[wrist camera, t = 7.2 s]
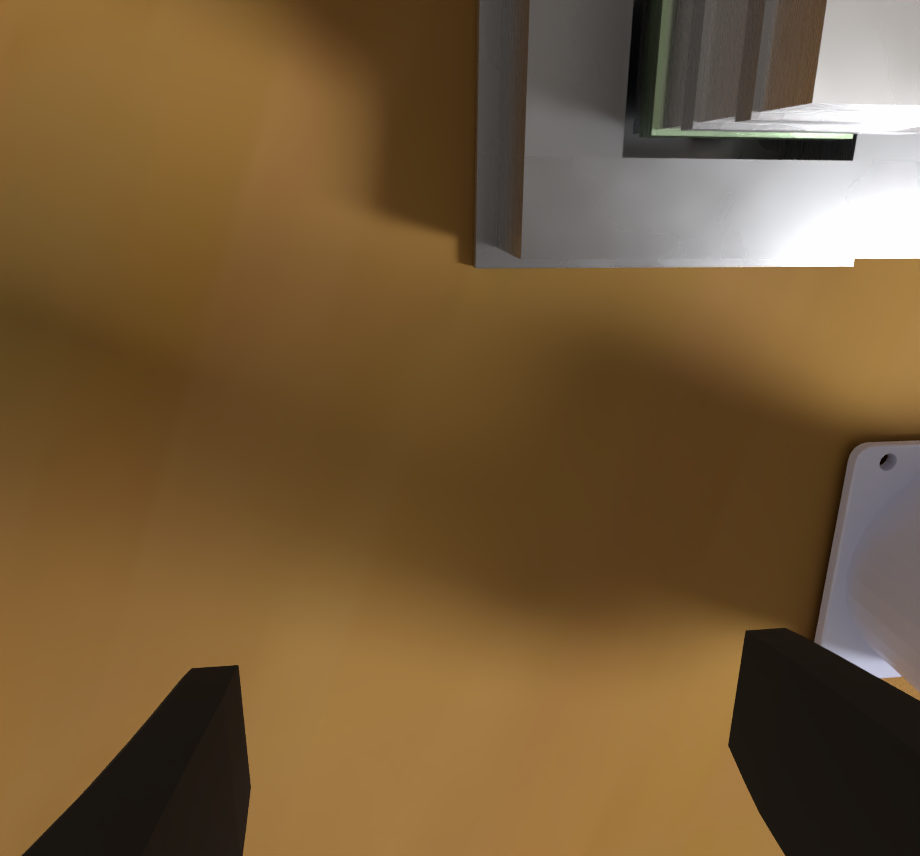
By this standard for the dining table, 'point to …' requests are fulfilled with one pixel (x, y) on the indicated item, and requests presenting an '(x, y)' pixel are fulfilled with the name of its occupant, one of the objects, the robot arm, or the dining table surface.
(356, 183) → the dining table surface
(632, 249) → the stand base
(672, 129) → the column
